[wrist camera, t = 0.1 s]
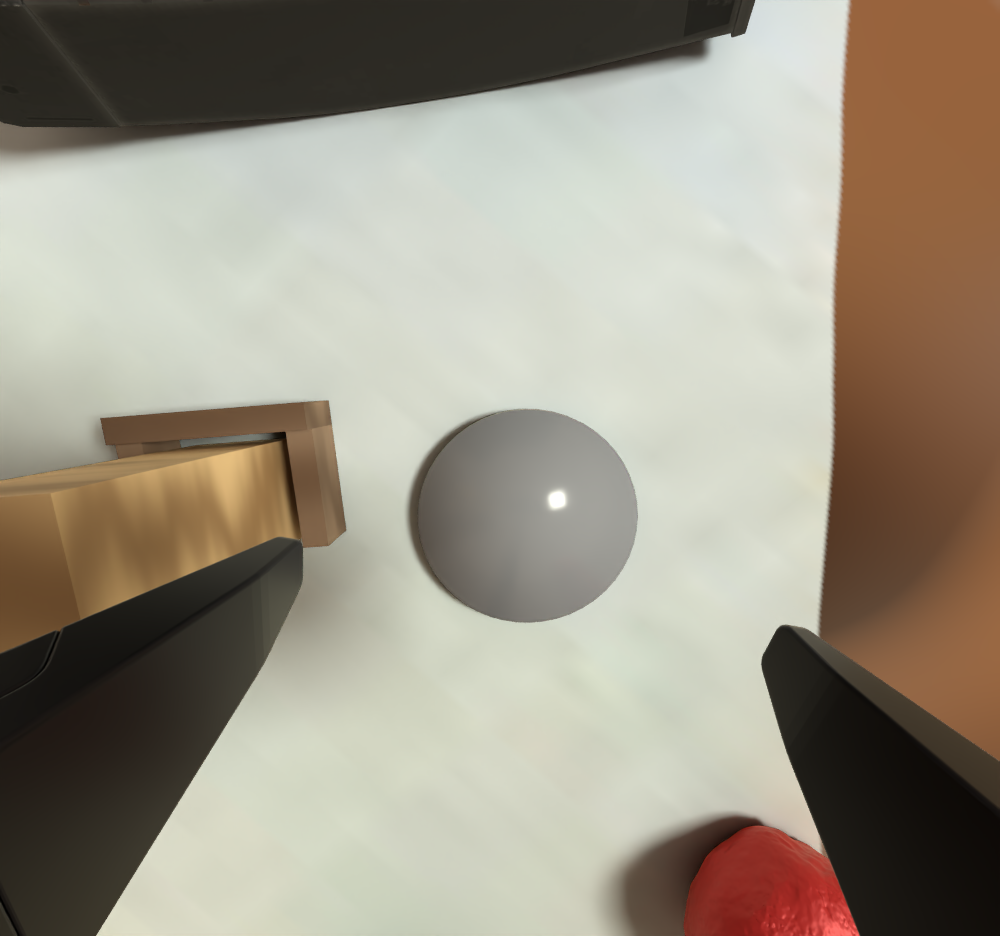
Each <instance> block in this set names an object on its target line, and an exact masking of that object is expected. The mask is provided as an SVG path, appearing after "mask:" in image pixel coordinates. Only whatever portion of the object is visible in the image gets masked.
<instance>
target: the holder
mask: <svg viewBox="0 0 1000 936" xmlns="http://www.w3.org/2000/svg"><path fill="white" fill-rule="evenodd" d="M100 420H101V424H102V429H103V433H104V438H105V443H106V445H116V450H117V455H118V459H123V458H128V457H134V456H139V455H145V454H151V453H156V452H162V451H167V450H173V449H178V448H181V446H180V441H179V440H182V439H195V438H208V437H220V436H233V435H246V434H259V433H272V432H284V431H286V438H287V444H288V451H289V457H290V464H291V470H292V477H293V483H294V490H295V497H296V503H297V510H298V516H299V523H300V529H301V536H302V542H303V548H305V547H319V546H329V545H330V544H331V543H332V542H333V541H335V540H336V539H337V538H338V537H339V536H340V535H341V534H342V533H343V532H345V531H346V525H345V518H344V511H343V504H342V496H341V489H340V482H339V474H338V467H337V460H336V452H335V445H334V438H333V430H332V423H331V416H330V408H329V401H314V402H300V403H287V404H274V405H262V406H249V407H237V408H224V409H211V410H199V411H186V412H174V413H161V414H148V415H136V416H123V417H111V418H100Z"/></svg>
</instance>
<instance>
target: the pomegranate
mask: <svg viewBox="0 0 1000 936" xmlns="http://www.w3.org/2000/svg"><path fill="white" fill-rule="evenodd" d="M683 927H684V932H685V936H859V933H858V931H857V928H856V926H855V923H854V921H853V918H852V916H851V913H850V911H849V908H848V906H847V903H846V901H845V898H844V896H843V893H842V891H841V888H840V886H839V883H838V880H837V878H836V875H835V873H834V870H833V868H832V865H831V863H830V860H829V858H827V857H825V856H823V855H821V854H820V853H819V852H817V851H816V850H814V849H813V848H812V847H810V846H809V845H807V844H805V843H803V842H801V841H797V840H793V839H792V838H790V837H789V836H788V835H787V834H785V833H784V832H782V831H780V830H778V829H775V828H771V827H767V826H750V827H746V828H743V829H741V830H739V831H738V832H737V833H735V834H734V835H733V836H731V837H730V838H729V839H727V840H725V841H723V842H722V843H721V844H720V845H718V846H717V847H715V848H714V849H713V850H712V851H711V852H710V853H709V854H708V855H707V856H706V858H705V859H704V861H703V863H702V865H701V867H700V869H699V871H698V873H697V875H696V876H695V878H694V879H693V881H692V883H691V885H690V889H689V893H688V898H687V902H686V912H685V917H684V924H683Z"/></svg>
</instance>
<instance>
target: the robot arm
mask: <svg viewBox="0 0 1000 936" xmlns="http://www.w3.org/2000/svg"><path fill="white" fill-rule="evenodd" d="M302 579H303V546H302V542H301V541H300V540H298V539H292V538H287V537H276V538H273V539H271V540H268V541H266V542H263V543H261V544H259V545H256V546H254V547H252V548H249V549H247V550H244V551H242V552H240V553H237V554H235V555H233V556H230V557H228V558H226V559H223V560H221V561H218V562H216V563H214V564H211V565H209V566H207V567H204V568H202V569H199V570H197V571H195V572H192V573H190V574H188V575H185V576H183V577H180V578H178V579H176V580H173V581H171V582H169V583H166V584H164V585H161V586H159V587H157V588H154V589H152V590H150V591H147V592H145V593H142V594H140V595H138V596H135V597H133V598H130V599H128V600H126V601H123V602H121V603H119V604H116V605H114V606H111V607H109V608H107V609H104V610H102V611H100V612H97V613H95V614H92V615H90V616H88V617H85V618H83V619H81V620H78V621H76V622H73V623H71V624H69V625H66V626H64V627H62V628H61V630H60V632H59V631H58V630H54V631H52V632H49V633H47V634H45V635H42V636H40V637H38V638H35V639H33V640H30V641H28V642H26V643H23V644H21V645H18V646H16V647H13V648H11V649H9V650H6V651H4V652H1V653H0V936H96V935H97V933H98V932H99V930H100V929H101V927H102V925H103V924H104V922H105V920H106V919H107V917H108V916H109V914H110V912H111V911H112V909H113V907H114V906H115V904H116V903H117V901H118V899H119V898H120V896H121V895H122V893H123V891H124V890H125V888H126V886H127V885H128V883H129V882H130V880H131V878H132V877H133V875H134V874H135V872H136V870H137V869H138V867H139V865H140V864H141V862H142V861H143V859H144V857H145V856H146V854H147V853H148V851H149V849H150V848H151V846H152V844H153V843H154V841H155V840H156V838H157V836H158V835H159V833H160V832H161V830H162V828H163V827H164V825H165V823H166V822H167V820H168V819H169V817H170V815H171V814H172V812H173V811H174V809H175V807H176V806H177V804H178V802H179V801H180V799H181V798H182V796H183V794H184V793H185V791H186V789H187V788H188V786H189V785H190V783H191V781H192V780H193V778H194V777H195V775H196V773H197V772H198V770H199V768H200V767H201V765H202V764H203V762H204V760H205V759H206V757H207V756H208V754H209V752H210V751H211V749H212V747H213V746H214V744H215V743H216V741H217V739H218V738H219V736H220V735H221V733H222V731H223V730H224V728H225V726H226V725H227V723H228V722H229V720H230V718H231V717H232V715H233V714H234V712H235V710H236V709H237V707H238V705H239V704H240V702H241V701H242V699H243V697H244V696H245V694H246V692H247V691H248V689H249V688H250V686H251V684H252V683H253V681H254V680H255V678H256V676H257V675H258V673H259V671H260V670H261V668H262V666H263V664H264V663H265V661H266V659H267V657H268V655H269V653H270V651H271V649H272V647H273V644H274V642H275V640H276V638H277V636H278V634H279V632H280V630H281V628H282V626H283V623H284V621H285V619H286V617H287V615H288V613H289V611H290V609H291V607H292V605H293V602H294V600H295V598H296V596H297V594H298V592H299V590H300V587H301V584H302ZM761 665H762V672H763V675H764V678H765V682H766V685H767V688H768V692H769V695H770V699H771V702H772V705H773V709H774V712H775V716H776V719H777V722H778V726H779V729H780V733H781V736H782V739H783V742H784V745H785V749H786V752H787V754H788V757H789V760H790V762H791V765H792V768H793V770H794V773H795V775H796V778H797V780H798V783H799V785H800V788H801V790H802V793H803V795H804V798H805V800H806V803H807V805H808V808H809V810H810V813H811V815H812V818H813V820H814V823H815V825H816V828H817V830H818V833H819V835H820V838H821V840H822V843H823V845H824V848H825V850H826V853H827V855H828V858H829V860H830V863H831V865H832V868H833V870H834V873H835V875H836V878H837V880H838V883H839V886H840V888H841V891H842V893H843V896H844V898H845V901H846V903H847V906H848V908H849V911H850V913H851V916H852V918H853V921H854V923H855V926H856V928H857V931H858V933H859V936H1000V761H998V760H997V759H996V758H994V757H993V756H991V755H990V754H988V753H987V752H985V751H984V750H982V749H981V748H980V747H978V746H976V745H975V744H973V743H972V742H971V741H969V740H968V739H966V738H965V737H963V736H962V735H961V734H959V733H958V732H956V731H955V730H953V729H952V728H950V727H949V726H947V725H946V724H945V723H943V722H942V721H940V720H939V719H937V718H936V717H934V716H933V715H931V714H930V713H928V712H927V711H926V710H924V709H923V708H921V707H920V706H918V705H917V704H915V703H914V702H913V701H911V700H910V699H908V698H906V697H905V696H904V695H902V694H901V693H899V692H898V691H896V690H895V689H894V688H892V687H891V686H889V685H888V684H886V683H885V682H883V681H882V680H881V679H879V678H877V677H876V676H875V675H873V674H872V673H870V672H869V671H867V670H866V669H865V668H863V667H862V666H860V665H859V664H857V663H856V662H854V661H853V660H851V659H850V658H848V657H847V656H846V655H844V654H842V653H841V652H840V651H838V650H837V649H835V648H834V647H832V646H831V645H829V644H828V643H827V642H825V641H824V640H822V639H821V638H819V637H818V636H816V635H815V634H814V633H812V632H811V631H809V630H808V629H805V628H803V627H797V626H791V625H781V626H780V627H779V628H778V629H777V630H776V632H775V634H774V635H773V637H772V639H771V641H770V643H769V645H768V647H767V648H766V650H765V652H764V654H763V656H762V662H761Z"/></svg>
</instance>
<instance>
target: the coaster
mask: <svg viewBox="0 0 1000 936" xmlns="http://www.w3.org/2000/svg"><path fill="white" fill-rule="evenodd" d="M637 519H638V513H637V500H636V495H635V490H634V486H633V484H632V481H631V478H630V475H629V473H628V471H627V469H626V467H625V465H624V463H623V461H622V460H621V458H620V457H619V456H618V454H617V453H616V451H615V450H614V449H613V448H612V447H611V446H610V444H609V443H608V442H607V441H606V440H605V439H604V438H602V437H601V436H600V435H599V434H598V433H597V432H595V431H594V430H592V429H591V428H589V427H588V426H586V425H585V424H583V423H581V422H579V421H577V420H575V419H572V418H570V417H568V416H565V415H562V414H559V413H556V412H552V411H546V410H540V409H517V410H508V411H504V412H500V413H496V414H493V415H490V416H488V417H485V418H482V419H480V420H479V421H477V422H475V423H473V424H471V425H469V426H468V427H467V428H465V429H464V430H462V431H461V432H460V433H458V434H457V435H456V436H455V437H454V438H453V439H452V440H451V441H450V442H449V443H448V444H447V445H446V446H445V447H444V448H443V450H442V451H441V452H440V453H439V454H438V456H437V457H436V459H435V460H434V462H433V464H432V465H431V467H430V469H429V471H428V473H427V475H426V478H425V480H424V483H423V486H422V490H421V493H420V498H419V505H418V529H419V536H420V540H421V544H422V548H423V551H424V553H425V556H426V558H427V561H428V563H429V565H430V566H431V568H432V570H433V572H434V573H435V575H436V576H437V578H438V579H439V580H440V581H441V583H442V584H443V585H444V586H445V587H446V588H447V589H448V590H449V591H450V592H451V593H452V594H453V595H454V596H455V597H456V598H458V599H459V600H460V601H462V602H463V603H464V604H466V605H467V606H469V607H471V608H473V609H474V610H476V611H478V612H481V613H483V614H485V615H488V616H490V617H494V618H497V619H501V620H506V621H512V622H529V623H530V622H541V621H548V620H552V619H557V618H560V617H563V616H566V615H569V614H571V613H573V612H575V611H577V610H579V609H581V608H583V607H585V606H586V605H588V604H589V603H591V602H592V601H594V600H595V599H596V598H598V597H599V596H600V595H601V594H602V593H603V592H605V591H606V590H607V588H608V587H609V586H610V585H611V584H612V583H613V582H614V581H615V579H616V578H617V576H618V575H619V574H620V572H621V571H622V569H623V567H624V565H625V564H626V562H627V560H628V558H629V555H630V553H631V550H632V547H633V544H634V540H635V535H636V531H637Z"/></svg>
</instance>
